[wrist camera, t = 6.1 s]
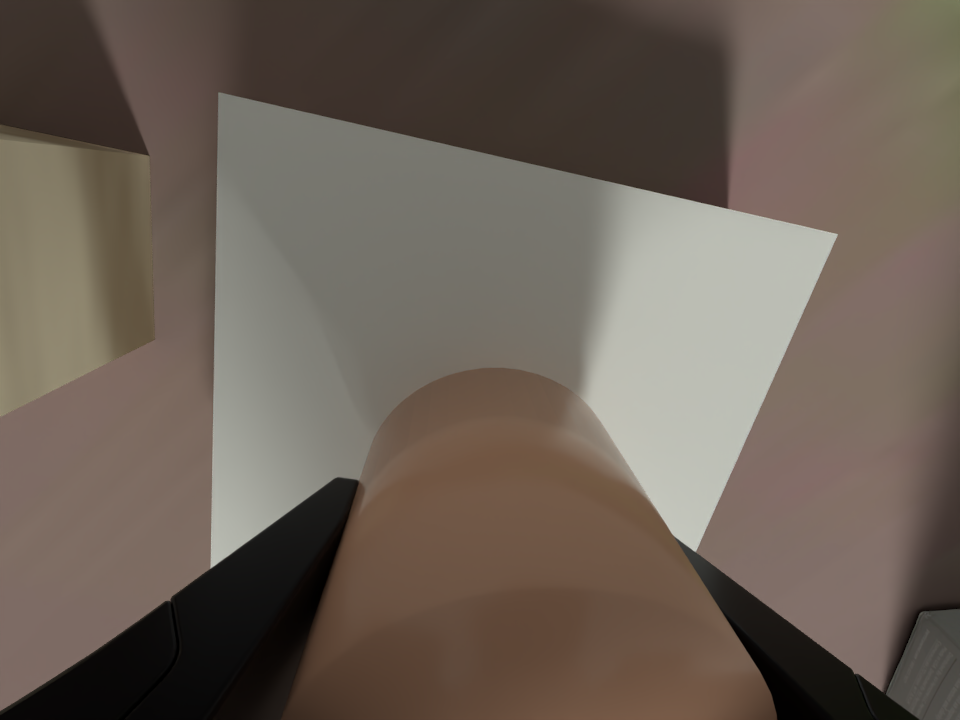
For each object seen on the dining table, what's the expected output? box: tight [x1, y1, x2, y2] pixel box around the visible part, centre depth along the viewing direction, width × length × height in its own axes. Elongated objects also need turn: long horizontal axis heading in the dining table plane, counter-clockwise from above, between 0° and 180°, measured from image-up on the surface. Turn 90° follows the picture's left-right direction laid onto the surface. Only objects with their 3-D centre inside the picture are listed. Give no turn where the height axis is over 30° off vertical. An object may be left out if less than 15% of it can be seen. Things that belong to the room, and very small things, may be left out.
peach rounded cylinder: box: [281, 368, 777, 720], centre depth 7 cm, size 5×5×5 cm
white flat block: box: [211, 92, 838, 568], centre depth 13 cm, size 12×12×4 cm
